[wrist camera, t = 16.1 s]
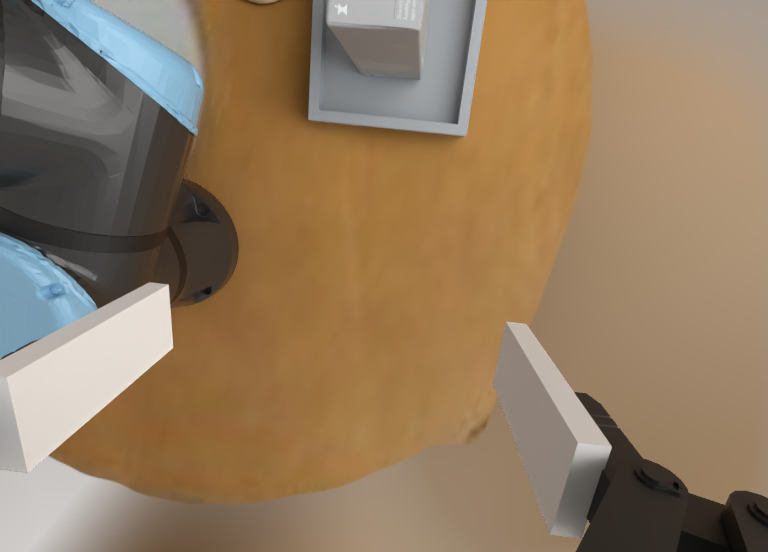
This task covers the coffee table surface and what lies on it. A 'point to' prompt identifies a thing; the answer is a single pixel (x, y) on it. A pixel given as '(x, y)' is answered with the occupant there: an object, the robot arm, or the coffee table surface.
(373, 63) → the skincare box
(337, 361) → the coffee table surface
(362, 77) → the tray
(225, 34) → the coffee table surface
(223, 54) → the coffee table surface
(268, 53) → the coffee table surface
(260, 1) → the curved potato chip
